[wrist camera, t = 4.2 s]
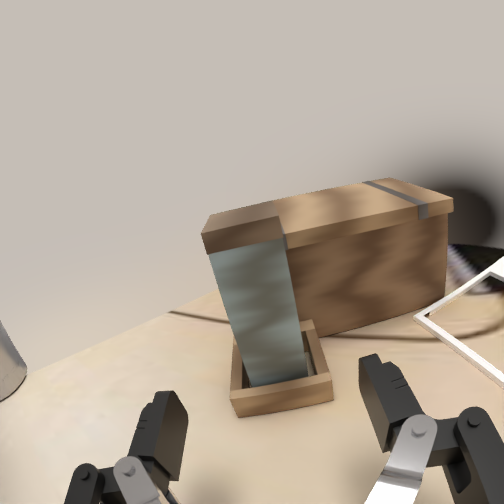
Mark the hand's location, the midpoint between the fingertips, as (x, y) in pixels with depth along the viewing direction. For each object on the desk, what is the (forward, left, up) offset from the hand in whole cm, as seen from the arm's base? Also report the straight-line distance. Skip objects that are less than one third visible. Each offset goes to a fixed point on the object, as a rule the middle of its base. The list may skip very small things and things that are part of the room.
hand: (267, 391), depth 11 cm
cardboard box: (+7, +15, -7) cm, 18 cm away
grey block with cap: (0, +8, -7) cm, 11 cm away
